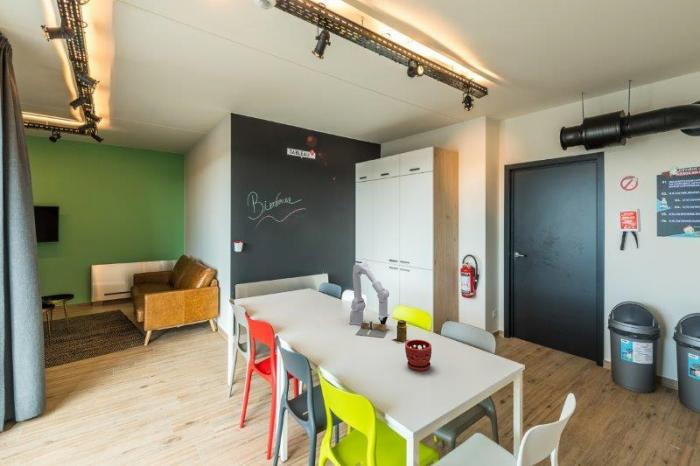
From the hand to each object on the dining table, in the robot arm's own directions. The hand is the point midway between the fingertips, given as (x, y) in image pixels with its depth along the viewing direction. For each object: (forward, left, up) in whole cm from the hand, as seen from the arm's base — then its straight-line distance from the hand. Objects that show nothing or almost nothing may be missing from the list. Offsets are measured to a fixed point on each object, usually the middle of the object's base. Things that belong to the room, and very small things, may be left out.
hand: (383, 327), depth 218 cm
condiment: (+14, -15, -2) cm, 21 cm away
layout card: (-6, -6, -2) cm, 9 cm away
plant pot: (+28, -48, -2) cm, 56 cm away
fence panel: (-2, -2, -1) cm, 3 cm away
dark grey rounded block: (-11, -2, -1) cm, 11 cm away
